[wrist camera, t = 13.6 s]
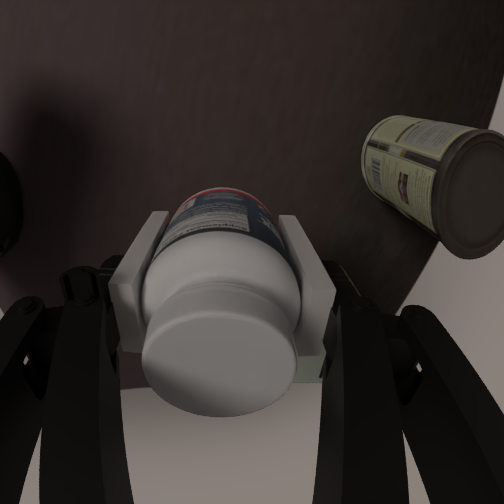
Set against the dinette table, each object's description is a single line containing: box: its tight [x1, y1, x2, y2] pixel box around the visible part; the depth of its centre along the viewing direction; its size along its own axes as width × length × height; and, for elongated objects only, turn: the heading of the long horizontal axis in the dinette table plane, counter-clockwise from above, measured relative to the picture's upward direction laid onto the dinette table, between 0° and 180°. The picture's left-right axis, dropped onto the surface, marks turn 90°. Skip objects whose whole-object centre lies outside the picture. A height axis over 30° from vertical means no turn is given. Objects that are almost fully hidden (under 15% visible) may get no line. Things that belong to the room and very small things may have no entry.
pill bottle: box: [141, 188, 301, 417], centre depth 11 cm, size 5×5×9 cm
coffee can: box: [361, 115, 504, 259], centre depth 24 cm, size 10×10×14 cm
